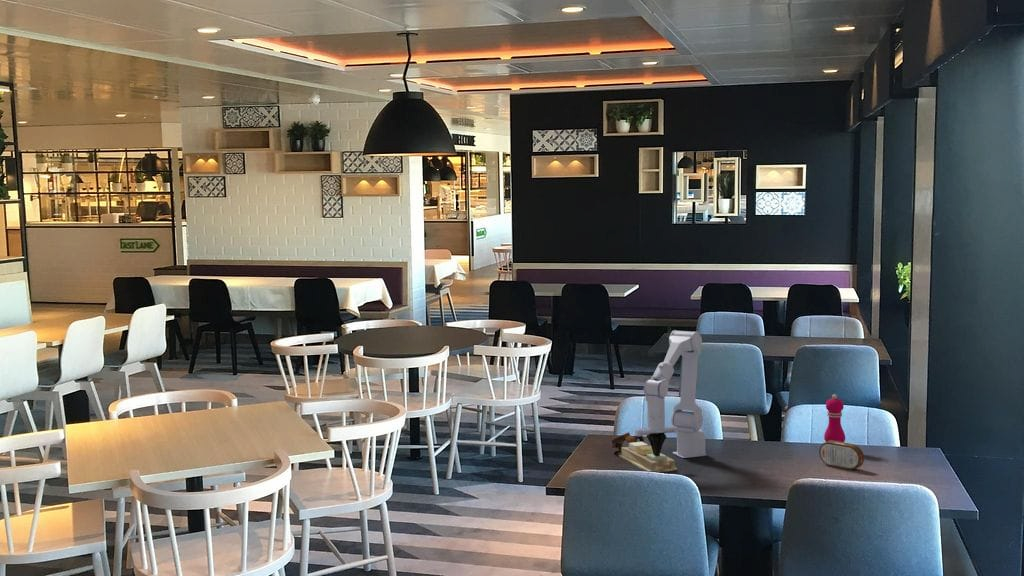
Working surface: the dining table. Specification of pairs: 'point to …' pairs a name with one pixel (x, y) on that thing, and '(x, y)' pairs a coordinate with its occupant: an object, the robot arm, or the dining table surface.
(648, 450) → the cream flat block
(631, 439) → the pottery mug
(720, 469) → the dining table surface
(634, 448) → the ivory key
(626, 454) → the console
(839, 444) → the tin
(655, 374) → the robot arm
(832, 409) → the pepper mill
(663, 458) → the sage key
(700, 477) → the dining table surface
